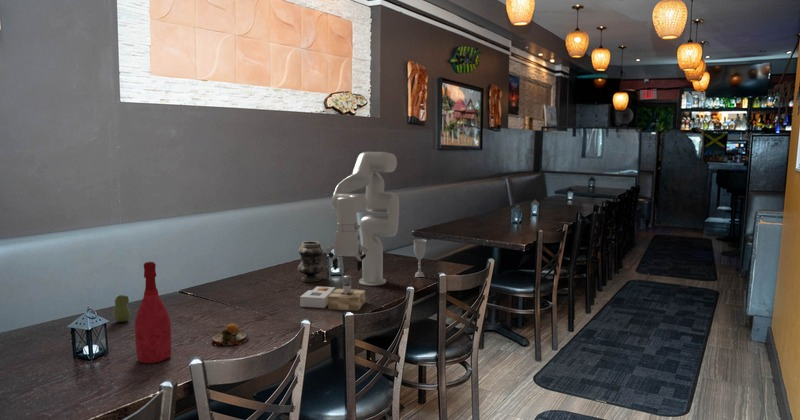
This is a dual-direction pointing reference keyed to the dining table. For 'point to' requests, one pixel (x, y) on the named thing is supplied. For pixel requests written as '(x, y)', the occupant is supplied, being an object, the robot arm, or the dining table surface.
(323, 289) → the release plunger
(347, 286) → the drill bit
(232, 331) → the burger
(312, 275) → the apothecary jar
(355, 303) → the block
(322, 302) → the socket block
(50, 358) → the dining table surface
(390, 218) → the robot arm
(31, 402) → the dining table surface
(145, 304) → the wine bottle
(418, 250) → the chalice
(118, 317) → the pear
